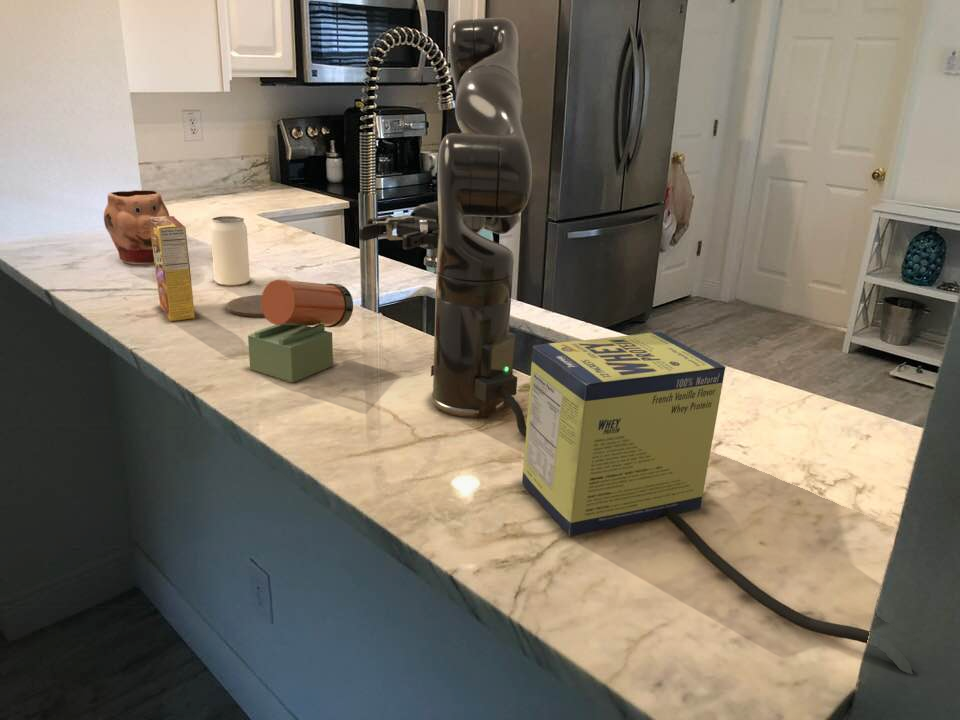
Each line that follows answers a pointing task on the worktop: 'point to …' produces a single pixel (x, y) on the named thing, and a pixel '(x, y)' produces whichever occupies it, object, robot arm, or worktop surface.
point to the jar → (306, 303)
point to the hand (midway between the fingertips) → (382, 238)
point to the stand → (290, 351)
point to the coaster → (246, 306)
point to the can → (230, 251)
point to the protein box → (619, 429)
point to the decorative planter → (133, 223)
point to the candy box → (172, 267)
